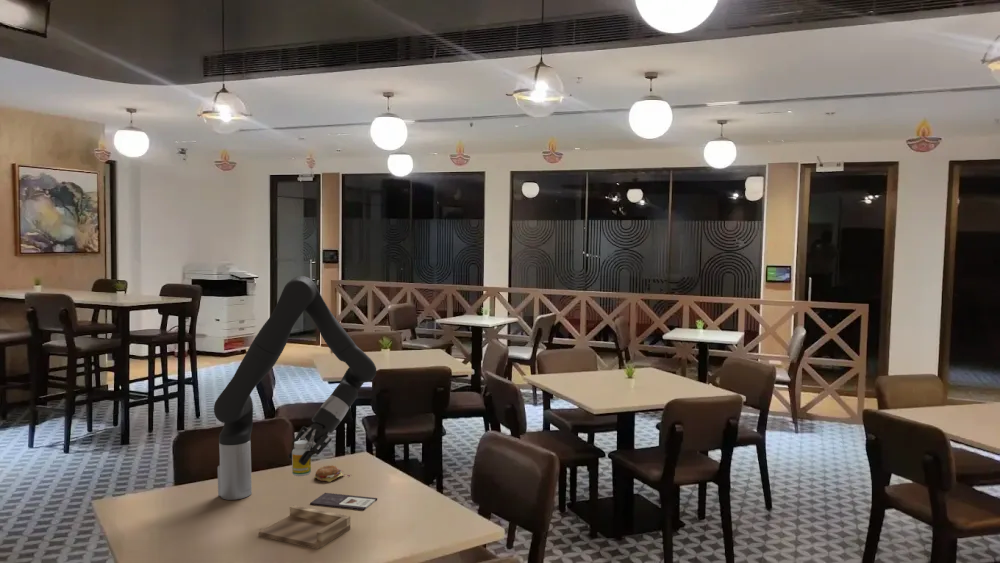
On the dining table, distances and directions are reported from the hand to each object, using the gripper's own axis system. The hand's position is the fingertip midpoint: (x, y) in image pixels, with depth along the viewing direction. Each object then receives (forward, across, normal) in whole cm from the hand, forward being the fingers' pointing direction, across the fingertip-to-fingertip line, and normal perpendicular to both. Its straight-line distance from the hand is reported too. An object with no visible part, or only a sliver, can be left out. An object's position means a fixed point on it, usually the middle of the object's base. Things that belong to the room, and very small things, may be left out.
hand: (296, 461), depth 207 cm
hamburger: (-6, -19, +29) cm, 36 cm away
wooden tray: (+15, +15, +7) cm, 22 cm away
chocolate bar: (+1, +3, +22) cm, 22 cm away
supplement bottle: (+2, 0, +4) cm, 5 cm away
